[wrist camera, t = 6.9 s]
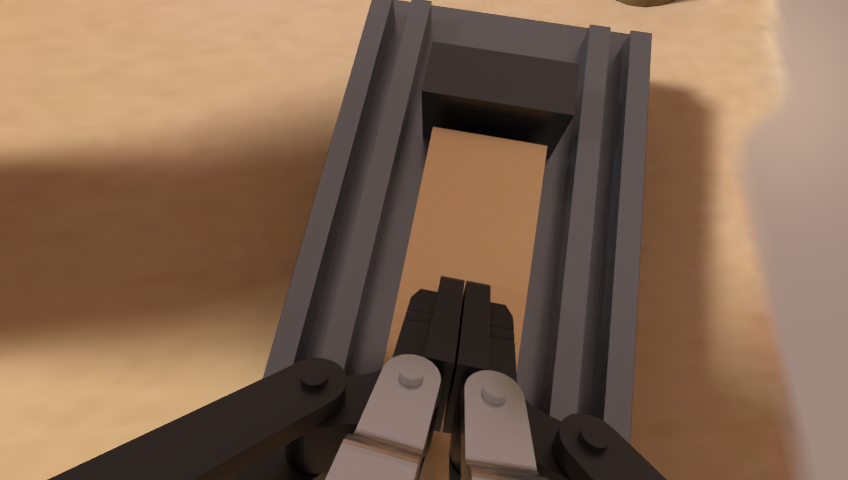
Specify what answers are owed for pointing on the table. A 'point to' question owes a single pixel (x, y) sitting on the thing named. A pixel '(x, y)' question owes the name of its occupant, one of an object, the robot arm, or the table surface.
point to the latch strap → (472, 233)
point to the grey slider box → (558, 210)
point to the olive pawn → (645, 2)
